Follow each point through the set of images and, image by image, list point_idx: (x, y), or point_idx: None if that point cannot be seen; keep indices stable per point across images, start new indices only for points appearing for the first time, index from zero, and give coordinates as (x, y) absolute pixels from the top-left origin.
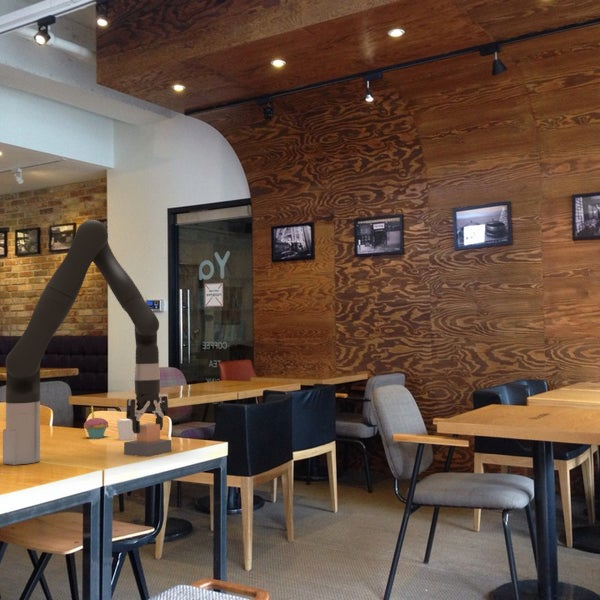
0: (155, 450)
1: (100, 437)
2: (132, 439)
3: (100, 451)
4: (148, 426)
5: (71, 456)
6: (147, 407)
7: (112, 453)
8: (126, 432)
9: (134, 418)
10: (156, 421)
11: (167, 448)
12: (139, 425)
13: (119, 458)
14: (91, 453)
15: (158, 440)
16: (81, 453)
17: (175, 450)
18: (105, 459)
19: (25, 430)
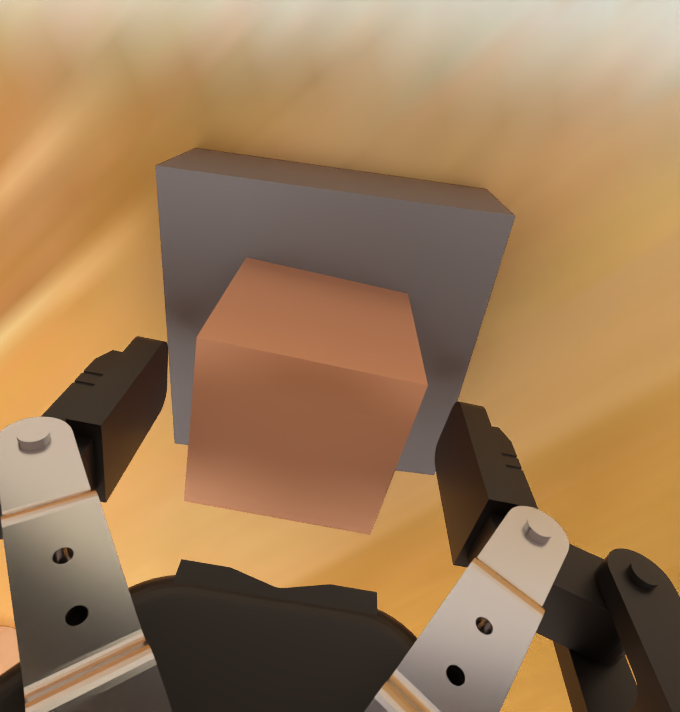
0: (397, 183)
1: None
2: (8, 628)
3: (369, 571)
4: (400, 375)
5: None
6: (341, 678)
7: (411, 491)
8: None
9: (572, 563)
10: (124, 455)
11: (239, 160)
12: (481, 455)
13: (590, 347)
14: (439, 573)
15: (268, 263)
16: None
17: (126, 159)
18: (636, 406)
19: None
